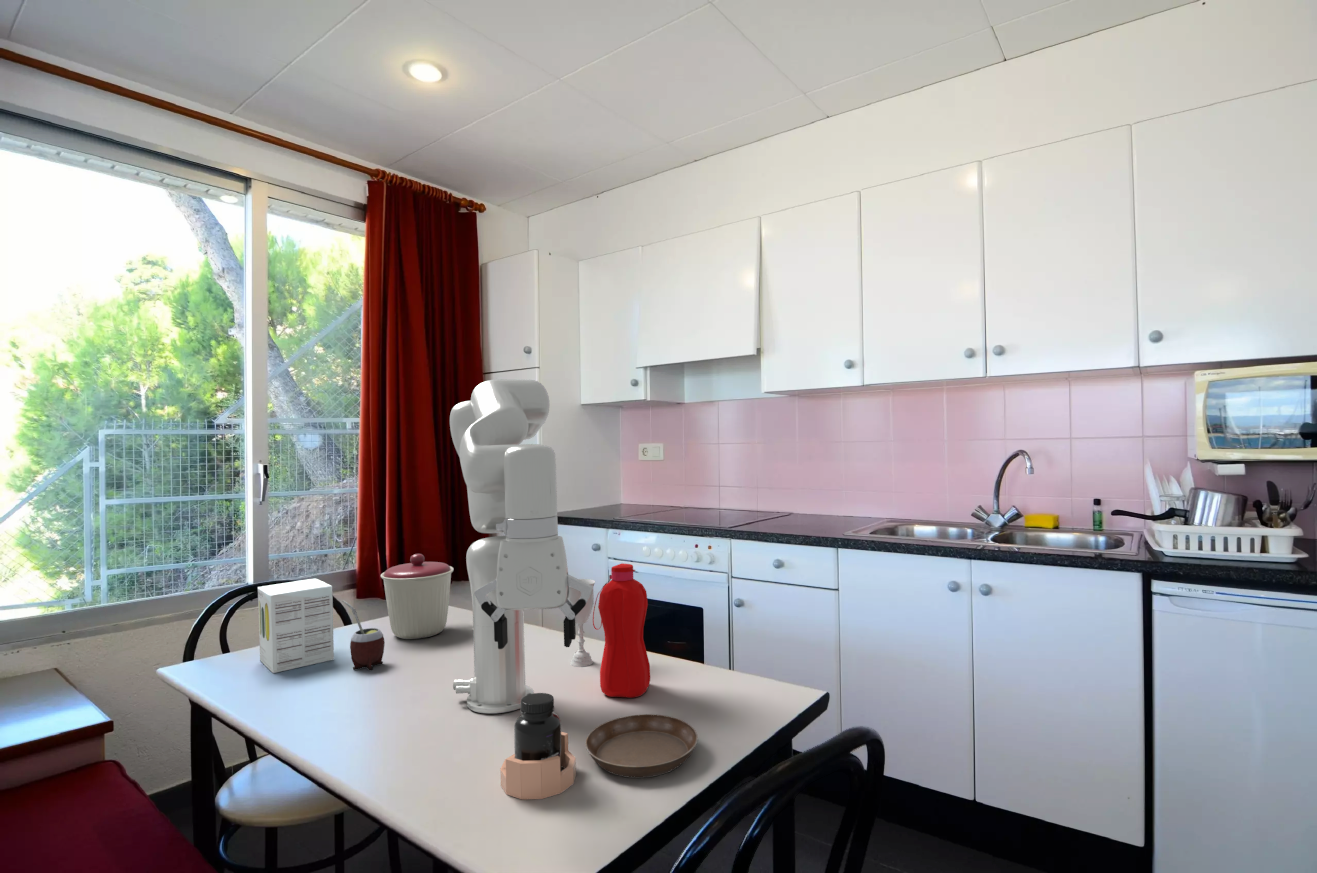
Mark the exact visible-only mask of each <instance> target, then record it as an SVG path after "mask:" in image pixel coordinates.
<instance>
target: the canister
mask: <svg viewBox="0 0 1317 873" xmlns="http://www.w3.org/2000/svg"><path fill="white" fill-rule="evenodd" d="M409 561H410V562H409V563H403V564H398V565H395V566H394V565H393V566H391V567H389V568H387V569H386V570H385V571H384V572H382V573H381V574H380V578H381V579H382V580H383V585H384V593H385V599H386V607H387V613H388V614H387V615H388V620H389V625H390V630H391V632H392V633H393V634H394V636H395V637H397V638H399V639H403V640H404V639H405V640H417V639H418V640H419V639H424V638H425V639H426V638H429V637H433V636H436V635H438V634H440V633H442V632H443V631H444V629H445V627H446V625H447V621H448V615H449V614H448V613H449V603H450V592H451V591H450V590H451V583H452V582H451V581H452V580H451V578H452V573H453V572H454V567H453V566H451V565H449V564H447V563H445V562H440V561H439V562H438V561H425V556H424V554H422V553H415V554H413V555H411V556H410V559H409Z"/></svg>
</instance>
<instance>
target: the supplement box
mask: <svg viewBox="0 0 1317 873" xmlns="http://www.w3.org/2000/svg"><path fill="white" fill-rule="evenodd" d="M257 602H258V603H257V604H258V606H257V607H258V609H257V610H258V629H259V630H258V633H259V661H260V662H261V663H262V664H263V665H264V666H265V667H266V668H267V669H268V670H270V672H271V673H272V674H276V673H280V672H285V671H288V670H294V669H297V668H301V667H307V666H311V665H312V666H313V665H314V664H315V665H316V664H320V663H325V662H329V661H333V660H335V651H334V650H335V648H334V647H335V644H334V642H335V641H334V603H333V602H334V600H333V585H331V584H329V583H327V582H325V581H322V580H320V579H318V578H309V579H303V580H301V579H300V580H296V581H289V582H282V583H276V584H269V585H262V586H257Z"/></svg>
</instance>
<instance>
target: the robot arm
mask: <svg viewBox="0 0 1317 873" xmlns="http://www.w3.org/2000/svg"><path fill="white" fill-rule="evenodd" d="M549 413H550V396H549V393H548V391H547V389H546V388H545V386H544V385H543V383H541V382H540V381H538V380H534V379H489V380H485V381H483V382H480V383H479V384H478V385H476V386H475V387H474V389H473V390H472V393H471V397H470V400H465V401H461V402H458V403H457V404H455V405H454V406H453V407H452V408H451V411H450V415H449V427H450V428H449V430H450V436H451V438H452V439H451V440H452V443H453V445H454V448H455V451H456V454H457V455H458V457H459V462H460V467H461V472H462V477H463V480H464V483H465V485H466V490H467V491H466V492H467V501H468V511H469V516H470V517H469V518H470V522H471V526H472V527H473V529H474V530H475V531H477V532H478V533H481V534H499V533H501V534H504V535H498V536H487V537H485V538H484V537H483V538H480V539H478V540H476V541H473V542H472V543H471V544H470V546H469V547H468V549H467V551H466V557H465V559H466V560H465V561H466V570H467V575H468V582H469V585H470V592H471V593H470V594H471V603H472V605H471V606H472V628H473V629H472V631H473V632H472V633H473V634H472V635H473V636H472V637H473V660H474V661H473V668H474V671H473V674H474V677H471V678H470V679H453V680H454V681H453V683H452V684H453V685H452V688H453V689H452V690H454V691H455V693H456V694H467V695H468V696H467V697H466V706H467V708H468V709H469V710H470V711H473V712H476V713H479V714H480V713H481V714H490V715H491V714H501V713H503V714H505V713H508V712H513V711H516V710H520V709H521V699H522V698H523V697H525V696H527V695H530V694H534V693H535V691H534V689H533V688H532V687H530V685H527V683H526V654H525V653H526V652H525V650H526V649H525V647H526V646H525V619H524V618H525V617H524V616H525V614H524V611H525V610H529V611H530V610H532V611H533V610H552V609H554V610H555V609H559V610H560V611H561V612H562V613H563V614H564V619H563V622H562V623H563V646H564V647H565V648H570V647H571V644H572V641H573V640H574V641H575V640H576V636H577V635H576V632H577V631H576V623H575V616H576V615H577V614H578V613H579V612H580V611H581V610H582V609H583V608H584V607H585V605H586V603H587V601H588V599H589V597H590V595H591V592H592V590H593V591H594V586H593V587H592V586H591V585H589V584H587V583H585V582H583V581H581V580H579V579H580V578H577V577H574V576H572V575H570V574H569V568H568V567H569V566H568V560H567V554H566V553H567V552H566V548H565V543H564V542H565V541H564V539H563V536H561V535H559V529H558V528H559V525H558V493H557V492H558V491H557V488H558V487H557V486H558V485H557V462H556V460H557V458H556V452H555V450H554V449H553V448H552V447H551V446H548V445H544V444H541V443H539V444H537V443H535V444H533V443H531V444H530V443H529V444H528V443H527V444H525V443H524V444H521V443H523V441H526V440H530V439H533V438H534V437H536V435H537V433H538V432H539V431H540V429H541V428H542V427H543V426H544V424H545V423H546V420H547V418H548V417H549ZM569 586H570V587H572V588H574V589H576V590H578V591H580V592H581V596H580V599H579V600H578V601H577V602H576V603H575V604H574V605H573V604H572V603H571V601H570V600H569V599H568V597H569Z"/></svg>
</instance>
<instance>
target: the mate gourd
mask: <svg viewBox="0 0 1317 873" xmlns="http://www.w3.org/2000/svg"><path fill="white" fill-rule="evenodd" d="M342 603H344V604H345V605H346V606H347V607H348V608H350V610H351V612H352V614H353V615H354V618H355V621H356V624H357V626H358V627H359V630H357V631H355V632H354V633H353V635H352V637H351V638H350V643H349V648H350V649H349V650H350V659H351V661H352V665H353V667H352V669H353V671H356V670H361V669H367V670H368V671H369V672H370V671H373V670H374V669H373V667H375V666H377V667H378V666H381V665H383V664H384V661H383V657H384V652H385V638H384V634H383V633H382V631H381V630H380V629H379V628H376V627H371V628H370V627H369V628H363V627H362V623H361V622H360V619H359V616H358V614H357V613H358V612H357V610H356V608H354V606H353V605H351V604H350V603H349V602H347V601H345V600H344V599H343V600H342Z"/></svg>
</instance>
